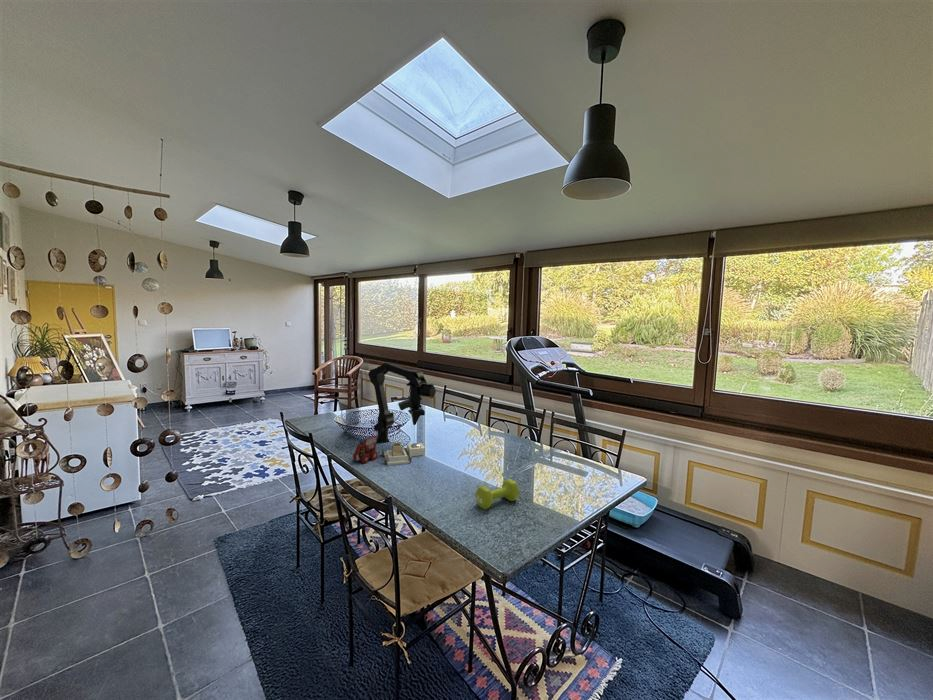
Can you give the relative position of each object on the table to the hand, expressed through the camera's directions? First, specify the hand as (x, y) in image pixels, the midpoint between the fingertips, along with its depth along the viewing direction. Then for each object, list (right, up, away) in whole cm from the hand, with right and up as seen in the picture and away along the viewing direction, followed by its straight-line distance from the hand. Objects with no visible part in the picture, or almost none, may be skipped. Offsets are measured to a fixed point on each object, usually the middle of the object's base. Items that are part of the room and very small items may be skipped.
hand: (414, 424), depth 183 cm
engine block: (-6, -12, -16) cm, 21 cm away
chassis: (-6, -13, -15) cm, 21 cm away
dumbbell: (+38, -18, -52) cm, 67 cm away
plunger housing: (+2, -13, -7) cm, 14 cm away
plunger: (+2, -12, -7) cm, 14 cm away
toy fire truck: (-20, -13, -18) cm, 30 cm away
